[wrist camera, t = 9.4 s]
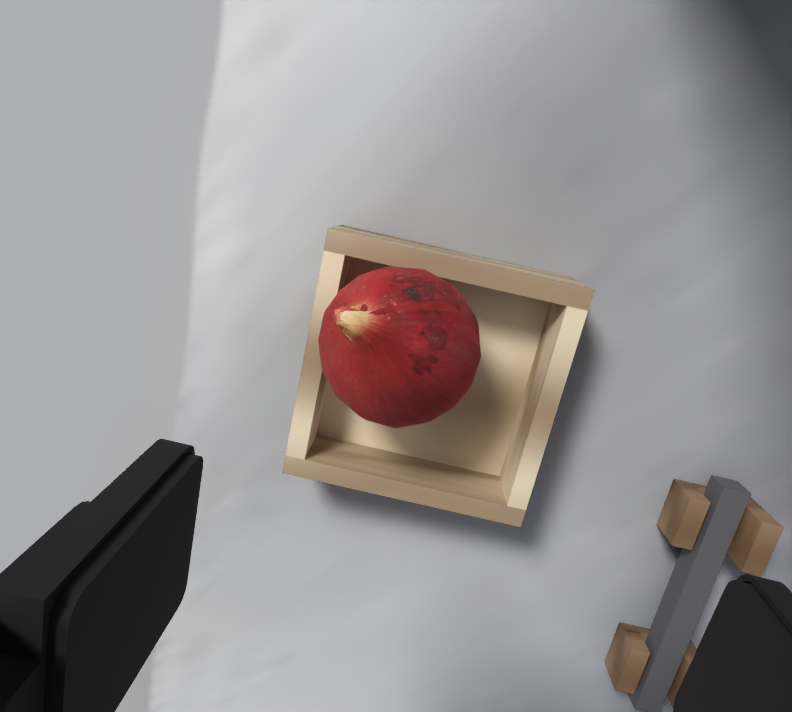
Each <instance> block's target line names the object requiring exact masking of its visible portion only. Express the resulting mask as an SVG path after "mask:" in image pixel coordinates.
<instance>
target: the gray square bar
mask: <svg viewBox="0 0 792 712" xmlns="http://www.w3.org/2000/svg"><path fill="white" fill-rule="evenodd" d="M704 496H705V497H706V498H707V499H708V500H709V501H710V502H711V503H710V506H709V508H708V511H707V513H706V516H705V518H704V521H703V523H702V526H701V528H700V531H699V533H698V536H697V538H696V541H695V543H694V546H693V548H692V550H688V549H684V548H682V550H681V553H680V556H679V558H678V561H677V563H676V566H675V568H674V571H673V573H672V576H671V578H670V581H669V583H668V586H667V588H666V591H665V593H664V596H663V598H662V601H661V603H660V606H659V608H658V611H657V613H656V616H655V619H654V621H653V624H652V626H651V629H650V631H649V634H648V636H647V639H646V641H645V644H646V646H647V648H648V650H649V652H650V655H649V657H648V660H647V662H646V665H645V667H644V670H643V672H642V675H641V677H640V680H639V682H638V685H637V687H636V690H635V692H634V694H631V693H628V694H629V696H630V699H631V701H632V704H633V706H634V709H638V710H642V711H646V712H660V710H661V708H662V706H663V703H664V701H665V699H666V696H667V694H668V691H669V689H670V687H671V684H672V682H673V680H674V677H675V675H676V672H677V670H678V668H679V665H680V663H681V660H682V658H683V656H684V653H685V651H686V649H687V646H688V644H689V641H690V639H691V637H692V634H693V632H694V630H695V627H696V625H697V622H698V620H699V618H700V615H701V613H702V611H703V608H704V606H705V603H706V601H707V599H708V596H709V594H710V591H711V589H712V587H713V584H714V582H715V580H716V577H717V575H718V572H719V570H720V568H721V565H722V563H723V561H724V558H725V556H726V553H727V551H728V549H729V546H730V544H731V542H732V539H733V537H734V534H735V532H736V530H737V527H738V525H739V522H740V520H741V518H742V515H743V513H744V511H745V508H746V506H747V503H748V501H749V499H750V496H751V493H750V492H749V491H748V490H747V489H745V488H744V487H743V486H742V485H741V484H740V483H739V482H738V481H734V480H730V479H726V478H721V477H717V476H713V475H711V477H710V480H709V482H708V485H707V487H706V490H705V493H704Z"/></svg>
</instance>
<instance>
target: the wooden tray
mask: <svg viewBox="0 0 792 712" xmlns="http://www.w3.org/2000/svg"><path fill="white" fill-rule="evenodd" d="M388 266H392V267H404V268H417V269H425V270H427V271H429V272H430V273H432V274H434V275H436V276H438V277H439V278H441V279H443V280H445V281H447V282H448V283H450V284H452V285H453V286H454V287H456V288H457V289H458V290H459V291H460V293H461V294H462V296H463V297H464V299H465V300H466V302H467V304H468V305H469V307H470V308H471V310H472V311H473V313H474V315H475V316H476V318H477V322H478V325H479V337H480V349H481V358H480V361H479V364H478V368H477V371H476V374H475V377H474V380H473V383H472V386H471V387H470V388H469V390H468V391H467V392H466V393H465V395H464V396H463V397H462V398H461V399H460V401H459V402H458V403H457V404H456V406H455V407H454V408H452V409H451V410H449V411H447V412H446V413H444V414H442V415H441V416H439V417H437V418H435V419H434V420H432V421H430V422H427V423H422V424H417V425H412V426H406V427H401V428H396V429H395V428H392V427H388V426H385V425H381V424H378V423H374V422H371V421H367V420H365V419H363V418H362V417H360V416H359V415H357V414H356V413H355V412H354V411H353V410H352V409H350V408H349V407H348V406H347V405H346V404H345V403H344V402H342V401H341V400H340V399H339V398H338V397H337V396H336V395H335V393H334V391H333V389H332V387H331V386H330V384H329V382H328V380H327V378H326V376H325V375H324V373H323V370H322V367H321V361H320V352H319V344H318V338H319V333H320V329H321V324H322V319H323V315H324V312H325V310H326V309H327V307H328V306H329V305H330V303H331V302H332V300H333V299H334V297H335V296H336V295H337V293H338V292H339V291H340V290H341V289H342V288H344V287H345V286H346V285H347V284H349V283H350V282H351V281H352V280H354V279H355V278H356V277H357V276H359V275H361V274H365V273H368V272H371V271H374V270H377V269H381V268H384V267H388ZM593 293H594V289H592V288H590V287H588V286H586V285H584V284H582V283H581V282H579V281H577V280H575V279H573V278H570V277H565V276H561V275H557V274H552V273H548V272H544V271H539V270H535V269H531V268H526V267H522V266H518V265H513V264H509V263H504V262H500V261H496V260H491V259H487V258H483V257H478V256H474V255H470V254H465V253H461V252H456V251H452V250H448V249H443V248H439V247H435V246H430V245H426V244H422V243H417V242H413V241H408V240H404V239H400V238H395V237H391V236H387V235H382V234H378V233H374V232H369V231H365V230H360V229H356V228H352V227H347V226H343V225H340V226H337V227H333V228H329V229H328V231H327V236H326V241H325V247H324V252H323V257H322V263H321V268H320V273H319V279H318V284H317V289H316V295H315V300H314V305H313V311H312V316H311V322H310V327H309V332H308V338H307V343H306V348H305V354H304V359H303V364H302V370H301V375H300V380H299V386H298V391H297V396H296V402H295V407H294V412H293V418H292V423H291V428H290V434H289V439H288V445H287V450H286V455H285V461H284V466H283V471H282V473H285V474H289V475H294V476H298V477H302V478H307V479H311V480H316V481H320V482H324V483H329V484H333V485H338V486H342V487H346V488H351V489H355V490H359V491H364V492H368V493H373V494H377V495H381V496H386V497H390V498H395V499H399V500H403V501H408V502H412V503H416V504H421V505H425V506H430V507H434V508H438V509H443V510H447V511H452V512H456V513H460V514H465V515H469V516H473V517H478V518H482V519H487V520H491V521H495V522H500V523H504V524H509V525H513V526H517V527H521V524H522V521H523V518H524V515H525V512H526V508H527V505H528V502H529V499H530V496H531V492H532V489H533V486H534V483H535V480H536V476H537V473H538V470H539V467H540V464H541V460H542V457H543V454H544V451H545V447H546V444H547V441H548V438H549V435H550V431H551V428H552V425H553V422H554V419H555V415H556V412H557V409H558V406H559V403H560V399H561V396H562V393H563V390H564V387H565V383H566V380H567V377H568V374H569V370H570V367H571V364H572V361H573V358H574V354H575V351H576V348H577V345H578V342H579V338H580V335H581V332H582V329H583V326H584V322H585V319H586V316H587V313H588V309H589V306H590V303H591V300H592V297H593Z"/></svg>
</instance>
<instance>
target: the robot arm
mask: <svg viewBox="0 0 792 712" xmlns="http://www.w3.org/2000/svg"><path fill="white" fill-rule="evenodd" d="M202 469H203V458H202V457H201V456H197V455H195V452H194V447H193V446H191V445H186V444H182V443H178V442H174V441H169V440H165V439H159V440H157V441H156V442H155V443H154V444H153V445H152V446H151V447H150V448H149V449H148V450H146V451H145V452H144V453H143V454H142V455H141V456H140V457H139V458H138V459H137V460H136V461H135V462H133V463H132V464H131V465H130V466H129V467H128V468H127V469H126V470H125V471H124V472H123V473H122V474H121V475H119V476H118V477H117V478H116V479H115V480H114V481H113V482H112V483H111V484H110V485H109V486H108V487H107V488H105V489H104V490H103V491H102V492H101V493H100V494H99V495H98V496H97V497H96V498H95V499H93V500H92V501H91V502H89V501H86V502H81V503H80V504H78V505H77V506H75V507H74V508H73V509H72V510H71V511H70V512H69V513H67V514H66V515H65V516H64V517H63V518H62V519H61V520H60V521H58V522H57V523H56V524H55V525H54V526H53V527H52V528H51V529H50V530H48V531H47V532H46V533H45V534H44V535H43V536H42V537H41V538H39V539H38V540H37V541H36V542H35V543H34V544H33V545H32V546H31V547H29V548H28V549H27V550H26V551H25V552H24V553H23V554H22V555H21V556H19V557H18V559H16V560H15V561H14V562H13V563H12V564H11V565H9V566H8V567H7V568H6V569H5V570H4V571H3V572H2V573H1V574H0V712H115V710H116V709H117V707H118V705H119V704H120V702H121V701H122V699H123V697H124V696H125V694H126V692H127V691H128V689H129V687H130V686H131V684H132V683H133V681H134V679H135V678H136V676H137V674H138V673H139V671H140V669H141V668H142V666H143V665H144V663H145V661H146V659H147V658H148V656H149V655H150V653H151V651H152V650H153V648H154V646H155V645H156V643H157V642H158V640H159V638H160V637H161V635H162V633H163V632H164V630H165V628H166V627H167V625H168V624H169V622H170V620H171V619H172V617H173V615H174V614H175V612H176V610H177V609H178V607H179V605H180V603H181V601H182V599H183V596H184V593H185V590H186V585H187V579H188V572H189V564H190V557H191V550H192V542H193V535H194V528H195V520H196V513H197V505H198V498H199V491H200V483H201V476H202ZM673 712H792V593H791V592H790V590H789V589H788V588H787V587H786V586H785V585H784V584H783V583H781V582H778V581H774V580H769V579H765V578H761V577H756V576H752V575H748V574H746V575H742V576H740V577H739V578H738V579H737V580H733V581H730V582H729V583H728V584H727V586H726V587H725V590H724V592H723V594H722V596H721V598H720V600H719V603H718V605H717V607H716V609H715V611H714V613H713V616H712V618H711V620H710V622H709V624H708V627H707V629H706V631H705V633H704V635H703V637H702V640H701V642H700V644H699V646H698V648H697V651H696V653H695V655H694V657H693V659H692V661H691V664H690V666H689V668H688V670H687V672H686V675H685V677H684V679H683V681H682V683H681V685H680V688H679V690H678V692H677V694H676V697H675V700H674V705H673Z"/></svg>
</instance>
